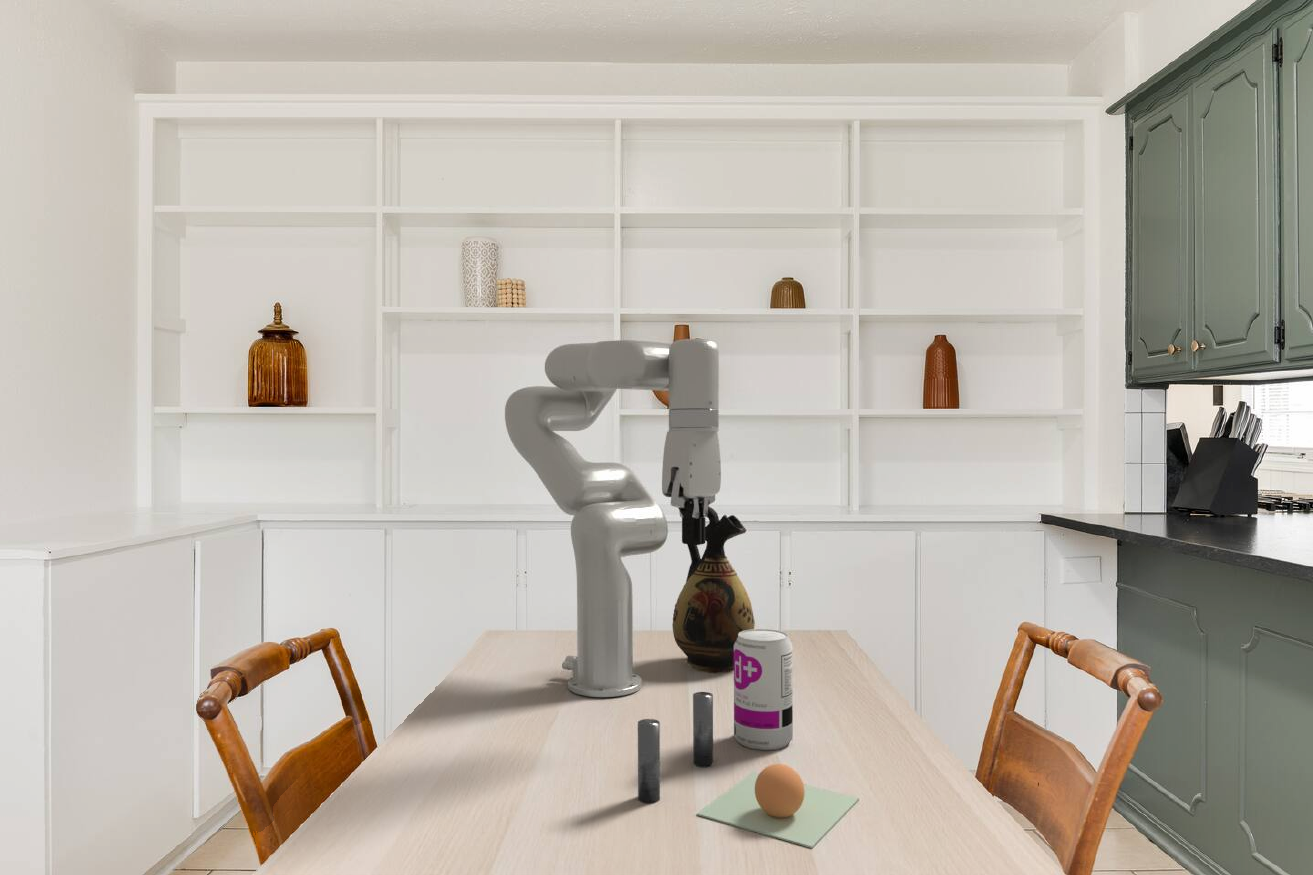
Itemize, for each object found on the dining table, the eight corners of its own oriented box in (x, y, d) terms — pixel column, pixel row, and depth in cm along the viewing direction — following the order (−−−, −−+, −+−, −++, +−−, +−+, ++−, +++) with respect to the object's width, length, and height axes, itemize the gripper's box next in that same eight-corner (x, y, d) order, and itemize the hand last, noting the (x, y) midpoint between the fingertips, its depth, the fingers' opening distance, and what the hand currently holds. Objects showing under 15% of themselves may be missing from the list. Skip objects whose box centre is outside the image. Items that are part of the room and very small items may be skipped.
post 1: (633, 799, 99) (633, 723, 99) (646, 791, 101) (645, 717, 101) (651, 804, 97) (651, 727, 97) (664, 796, 99) (663, 721, 99)
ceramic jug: (766, 660, 160) (766, 504, 160) (735, 681, 146) (735, 510, 146) (687, 650, 168) (686, 501, 168) (650, 669, 154) (650, 507, 154)
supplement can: (755, 755, 112) (755, 644, 112) (723, 736, 119) (722, 631, 119) (804, 745, 116) (804, 637, 116) (770, 727, 123) (769, 625, 123)
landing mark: (696, 814, 95) (696, 813, 95) (753, 773, 106) (753, 771, 106) (812, 848, 87) (812, 846, 87) (859, 799, 99) (859, 797, 99)
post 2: (689, 764, 109) (689, 695, 109) (699, 757, 111) (699, 690, 111) (706, 768, 108) (706, 699, 108) (716, 762, 110) (716, 693, 110)
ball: (785, 833, 91) (741, 810, 94) (808, 817, 95) (765, 796, 99) (794, 783, 90) (750, 763, 94) (817, 770, 95) (774, 750, 98)
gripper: (698, 422, 134) (698, 537, 134) (644, 421, 122) (644, 547, 122) (739, 422, 130) (739, 540, 130) (687, 421, 117) (687, 551, 117)
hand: (693, 543), depth 126 cm, fingers closed
